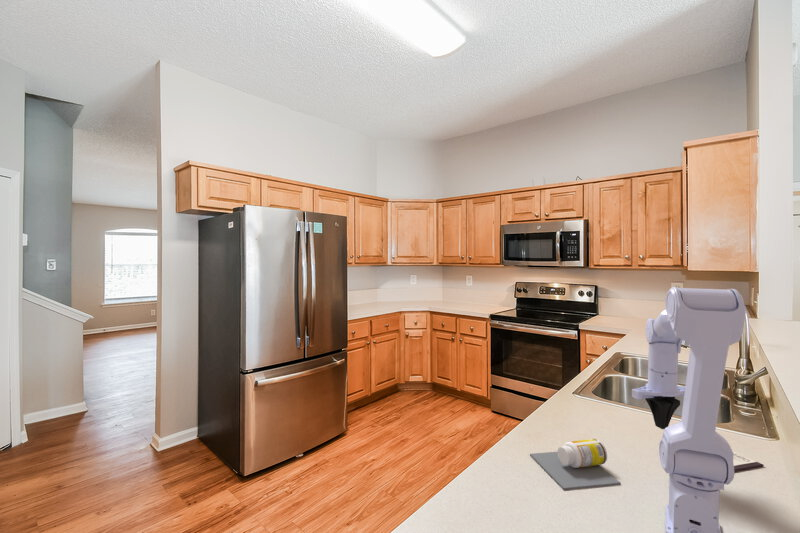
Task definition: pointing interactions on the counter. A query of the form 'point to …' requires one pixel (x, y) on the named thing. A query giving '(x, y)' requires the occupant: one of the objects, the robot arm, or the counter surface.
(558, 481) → the mat
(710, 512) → the robot arm
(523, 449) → the counter surface
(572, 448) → the supplement bottle
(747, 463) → the chocolate bar
